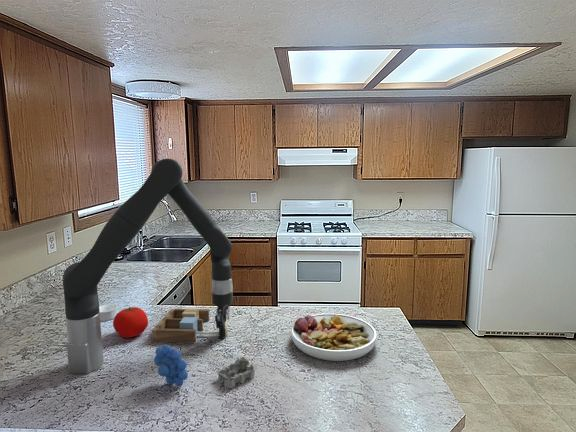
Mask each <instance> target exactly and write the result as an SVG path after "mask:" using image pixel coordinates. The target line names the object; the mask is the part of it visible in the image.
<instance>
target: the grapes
mask: <svg viewBox="0 0 576 432" xmlns="http://www.w3.org/2000/svg"><path fill="white" fill-rule="evenodd" d="M153 362H154V365H156V366H157V367H158V369H157V373H158V375H159V377H162V378H165V382H166V383H167V384H168V385H173V384H174V385H176V386H177V387H180V386H182V385H183V384H184V381H185V380H187V379H188V376H189V373H188V371H187V370H186V368H187V366H188V363H187V361H186V360H185V359H183V358H181V352H180V351H179V350H178V349H175V348H173V349H172V346H170V345H169V344H167V343H165V344H163V346H159V347H156V348H155V357H154V359H153Z"/></svg>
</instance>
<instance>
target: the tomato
mask: <svg viewBox="0 0 576 432" xmlns="http://www.w3.org/2000/svg"><path fill="white" fill-rule="evenodd" d="M148 318H149V317H148V315H147V313H146V312H145V311H144V309H141V308H140V307H137V306H132V307H131V306H129V307H126V308H124V309H121V310H119V312H117V314H116V316H115V318H114V319H112V321H113V322H112V326H113V329H114V331H115V332H116V334H117V335H119V336H120V337H122V338H127V339H129V338H133V337H136V336H139V335H141V334H143V332H145V331H146V329H147V327H148V326H149V319H148Z"/></svg>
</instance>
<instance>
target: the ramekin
mask: <svg viewBox="0 0 576 432" xmlns="http://www.w3.org/2000/svg"><path fill="white" fill-rule="evenodd" d="M118 307H119V306H118V304H114V303H113V304H112V303H111V304H110V303H108V304H102V305H99V312H100V322H107V321H109V322H110V321H113V320H114V318H115V316H116V314H117V313H118Z"/></svg>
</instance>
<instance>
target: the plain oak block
mask: <svg viewBox="0 0 576 432" xmlns="http://www.w3.org/2000/svg"><path fill="white" fill-rule="evenodd" d="M184 309H185V311H184V312H183V313H182V319H183V318H184V317H197V319H199V309H200V308H184Z"/></svg>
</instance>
